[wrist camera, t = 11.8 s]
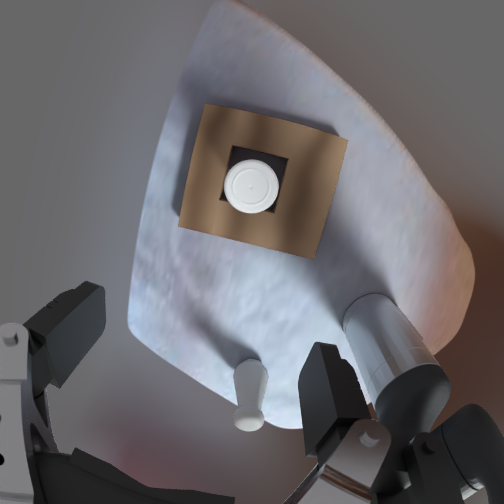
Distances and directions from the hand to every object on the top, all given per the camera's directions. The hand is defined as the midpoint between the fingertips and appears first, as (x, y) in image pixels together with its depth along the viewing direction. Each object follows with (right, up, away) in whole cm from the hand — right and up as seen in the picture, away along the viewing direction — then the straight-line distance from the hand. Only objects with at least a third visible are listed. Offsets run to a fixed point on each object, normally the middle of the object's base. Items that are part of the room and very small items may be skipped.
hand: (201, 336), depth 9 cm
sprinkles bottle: (+2, +13, +26) cm, 29 cm away
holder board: (+3, +12, +25) cm, 28 cm away
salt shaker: (+2, -17, +35) cm, 39 cm away
